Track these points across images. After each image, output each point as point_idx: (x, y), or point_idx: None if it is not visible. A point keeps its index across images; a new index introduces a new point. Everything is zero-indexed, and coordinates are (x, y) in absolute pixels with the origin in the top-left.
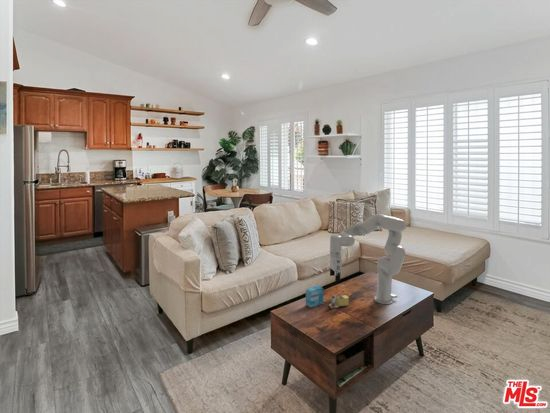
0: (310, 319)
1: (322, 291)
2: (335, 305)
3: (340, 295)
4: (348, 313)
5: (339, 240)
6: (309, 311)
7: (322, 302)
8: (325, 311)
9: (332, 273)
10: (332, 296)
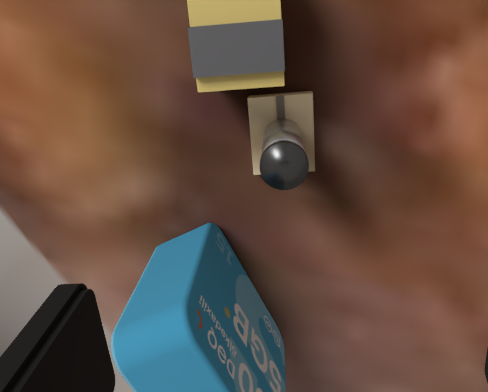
0: (468, 374)
1: (199, 301)
2: (291, 118)
3: (205, 42)
4: (465, 19)
5: None
6: (338, 351)
7: (214, 228)
8: (366, 234)
9: (81, 386)
10: (275, 181)
